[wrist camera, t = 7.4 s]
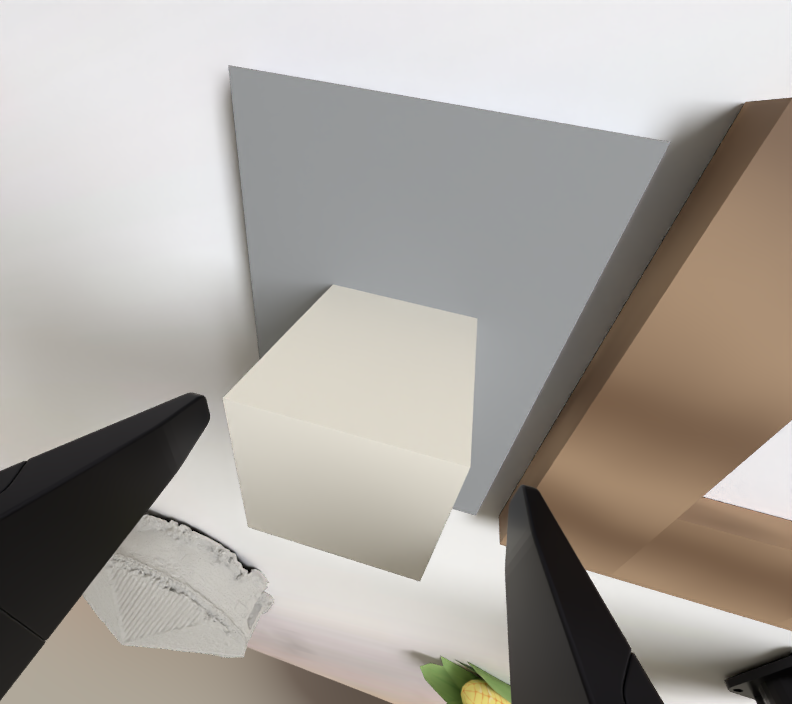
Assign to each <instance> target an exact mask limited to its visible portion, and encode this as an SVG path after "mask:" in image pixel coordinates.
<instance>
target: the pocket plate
mask: <svg viewBox="0 0 792 704" xmlns="http://www.w3.org/2000/svg"><path fill="white" fill-rule="evenodd" d="M791 420H792V98H783V99H772V100H762V101H751V102H745V104H744V105H743V107H742V109H741V110H740V112H739V114H738V115H737V117H736V119H735V120H734V122H733V124H732V125H731V127H730V129H729V130H728V132H727V134H726V135H725V137H724V139H723V141H722V142H721V144H720V146H719V147H718V149H717V151H716V152H715V154H714V156H713V157H712V159H711V161H710V162H709V164H708V166H707V167H706V169H705V171H704V172H703V174H702V176H701V177H700V179H699V181H698V183H697V184H696V186H695V188H694V189H693V191H692V193H691V194H690V196H689V198H688V199H687V201H686V203H685V204H684V206H683V208H682V209H681V211H680V213H679V214H678V216H677V218H676V219H675V221H674V223H673V225H672V226H671V228H670V230H669V231H668V233H667V235H666V236H665V238H664V240H663V241H662V243H661V245H660V246H659V248H658V250H657V251H656V253H655V255H654V256H653V258H652V260H651V261H650V263H649V265H648V267H647V268H646V270H645V272H644V273H643V275H642V277H641V278H640V280H639V282H638V283H637V285H636V287H635V288H634V290H633V292H632V293H631V295H630V297H629V298H628V300H627V302H626V303H625V305H624V307H623V309H622V310H621V312H620V314H619V315H618V317H617V319H616V320H615V322H614V324H613V325H612V327H611V329H610V330H609V332H608V334H607V335H606V337H605V339H604V340H603V342H602V344H601V346H600V347H599V349H598V351H597V352H596V354H595V356H594V357H593V359H592V361H591V362H590V364H589V366H588V367H587V369H586V371H585V372H584V374H583V376H582V377H581V379H580V381H579V382H578V384H577V386H576V388H575V389H574V391H573V393H572V394H571V396H570V398H569V399H568V401H567V403H566V404H565V406H564V408H563V409H562V411H561V413H560V414H559V416H558V418H557V419H556V421H555V423H554V424H553V426H552V428H551V430H550V431H549V433H548V435H547V436H546V438H545V440H544V441H543V443H542V445H541V446H540V448H539V450H538V451H537V453H536V455H535V456H534V458H533V460H532V461H531V463H530V465H529V466H528V468H527V470H526V472H525V473H524V475H523V477H522V478H521V480H520V482H519V483H518V485H517V487H516V488H515V490H514V492H513V493H512V495H511V497H510V498H509V500H508V502H507V503H506V505H505V507H504V508H503V510H502V512H501V514H500V515H499V534H500V544H501V545H504V546H506V542H507V526H508V510H509V504H510V501H511V500H512V498H513V496H514V495H515V493H516V491H517V490H518V488H519V487H520V486H521V485H527V486H531V487H534V488H537V489H538V490H539V492H540V493H541V495H542V497H543V498H544V500H545V502H546V503H547V505H548V507H549V509H550V510H551V512H552V514H553V515H554V517H555V519H556V521H557V522H558V524H559V526H560V527H561V529H562V531H563V532H564V534H565V536H566V538H567V539H568V541H569V543H570V544H571V546H572V548H573V550H574V551H575V553H576V555H577V556H578V558H579V560H580V562H581V563H582V565H583V567H584V568H585V570H588V571H592V572H595V573H598V574H602V575H605V576H608V577H612V578H615V579H619V580H622V581H625V582H629V583H632V584H635V585H639V586H642V587H646V588H649V589H652V590H656V591H659V592H662V593H666V594H669V595H672V596H676V597H679V598H683V599H686V600H689V601H693V602H696V603H699V604H703V605H706V606H709V607H713V608H716V609H720V610H723V611H726V612H730V613H733V614H736V615H740V616H743V617H747V618H750V619H753V620H757V621H760V622H763V623H767V624H770V625H773V626H777V627H780V628H784V629H787V630H790V631H792V521H790V520H786V519H782V518H778V517H775V516H771V515H767V514H764V513H760V512H756V511H752V510H749V509H745V508H741V507H737V506H734V505H730V504H726V503H723V502H719V501H715V500H711V499H708V498H704V497H703V496H704V495H705V494H706V493H707V492H708V491H710V490H711V489H712V488H713V487H714V486H715V485H717V484H718V483H719V482H720V481H721V480H722V479H724V478H725V477H726V476H727V475H728V474H729V473H731V472H732V471H733V470H734V469H735V468H736V467H738V466H739V465H740V464H741V463H742V462H743V461H745V460H746V459H747V458H748V457H749V456H750V455H752V454H753V453H754V452H755V451H756V450H757V449H759V448H760V447H761V446H762V445H763V444H764V443H766V442H767V441H768V440H769V439H770V438H771V437H773V436H774V435H775V434H776V433H777V432H778V431H780V430H781V429H782V428H783V427H784V426H785V425H787V424H788V423H789V422H790V421H791Z"/></svg>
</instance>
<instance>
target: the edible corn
mask: <svg viewBox="0 0 792 704" xmlns="http://www.w3.org/2000/svg"><path fill="white" fill-rule="evenodd" d="M441 659H442V663H443V666H440V665H436V664H432V663H429V664H426V665H423V666H420V668H421V671H422V673H423V676H424V678H425V680H426V681H427V682H428V683H429V684H430V685H431V686H432V687H433V689H434V690H435V691H436V692H437V693H438V694H439V695H440V696H441V697H442V698H443V699H444V700H445V701H446V702H447V704H511V686H510V685H508V684H506V683H504V682H503V681H501V680H499V679H497V678H495V677H494V676H492V675H490V674H488V673H486V672H485V671H483V670H481V669H479V668H478V667H476V666H474V665H472V664H470V663H469V662H468V663H469V664H470V665H471V666H472V668H473V669H474V670H475V671H474V670H473V669H471V668H469V667H467V666H466V667H467V668H469V669H471V670H472V671H474V672H476V673H477V674H479V675H480V676H481V677H482V678H483V679H484V680H483V679H481V678H479V677H478V676H476V675H474V674H472V673H470V672H469V671H467V670H465V669H463V668H461V667H460V666H458V665H456V664H454V663H452V662H451V661H449V660H447V659H445V658H443V657H442V656H441ZM459 663H460V662H459ZM461 664H462V663H461ZM463 665H464V664H463ZM464 666H465V665H464Z"/></svg>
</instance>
